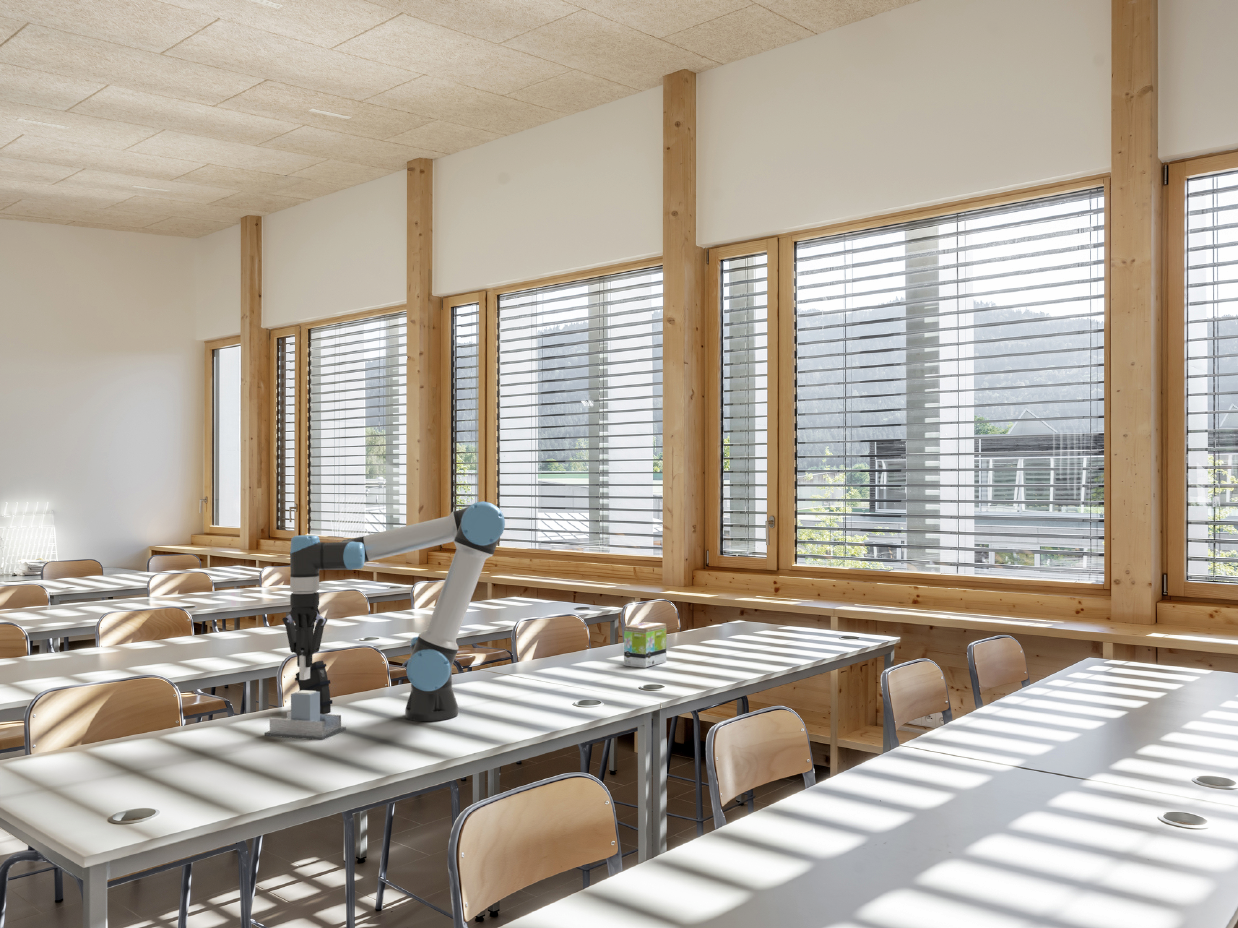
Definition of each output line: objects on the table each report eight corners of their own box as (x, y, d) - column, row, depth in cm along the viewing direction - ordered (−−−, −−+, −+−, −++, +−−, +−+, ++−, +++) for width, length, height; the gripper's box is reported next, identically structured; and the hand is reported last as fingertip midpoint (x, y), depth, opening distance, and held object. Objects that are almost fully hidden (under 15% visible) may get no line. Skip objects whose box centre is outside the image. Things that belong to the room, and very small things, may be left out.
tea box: (646, 668, 349) (646, 627, 350) (623, 666, 355) (622, 625, 355) (667, 661, 362) (666, 622, 362) (644, 659, 367) (644, 620, 368)
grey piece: (345, 729, 264) (345, 713, 264) (322, 739, 254) (322, 723, 254) (289, 725, 270) (289, 710, 270) (264, 735, 259) (264, 719, 259)
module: (320, 724, 263) (319, 690, 263) (310, 728, 259) (309, 693, 259) (301, 723, 265) (301, 689, 265) (291, 727, 260) (290, 692, 261)
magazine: (328, 710, 281) (314, 661, 285) (303, 724, 288) (290, 676, 292) (339, 707, 284) (325, 659, 288) (314, 721, 291) (300, 674, 295)
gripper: (333, 591, 264) (333, 677, 264) (293, 590, 268) (292, 675, 268) (317, 594, 257) (317, 682, 257) (275, 592, 261) (275, 680, 260)
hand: (304, 678), depth 262 cm, fingers closed
